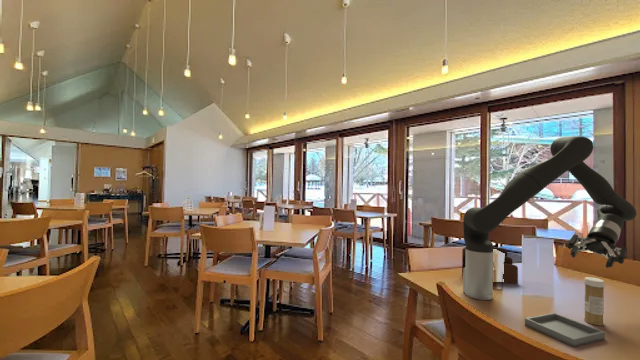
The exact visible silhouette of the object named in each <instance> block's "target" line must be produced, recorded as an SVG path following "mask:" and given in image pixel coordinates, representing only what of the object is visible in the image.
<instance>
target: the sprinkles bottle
mask: <svg viewBox="0 0 640 360" xmlns="http://www.w3.org/2000/svg"><path fill="white" fill-rule="evenodd" d="M584 287H585V288H584V318H583V319H584V321H585V322H586V323H588V324H591V325H595V326H604V314H605V312H604V310H605V308H604V306H605V305H604V303H605V300H604V298H605V297H604V292H605V291H604V289H605V280H603V279H602V278H597V277H591V276H586V277H584Z"/></svg>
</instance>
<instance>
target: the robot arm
mask: <svg viewBox="0 0 640 360" xmlns="http://www.w3.org/2000/svg"><path fill="white" fill-rule="evenodd" d="M549 149H550V154H551V155H552V157H550V158H548V159H545V160H544V161H542V162H539V163H537V164H535V165H532V166H530V167H528V168H525V169H523V170H522V171H521V172H520V173H518V174H517V175H515V176H514V177H513V178H511V180H510V181H509V182H507V184H506V185H505V186H504V188H503V189H502V191H501V193H500V194H499V196H498V197H496V198H495V199H494V200H492V201H491V202H489V203H488V204H487V205H485V206H483V207H478V206H476V207H475V206H474V207H470V208H468V209H467V210H466V211H465V213H464V216H463V224H462V225H463V227H462V228H463V241H464V245H465V247H466V260H465V267H464V268H463V275H462V293H463V294H465V295H466V296H467V297H469V298H471V299H475V300H481V301H489V300H492V299H493V297H494V296H493V293H494V292H493V291H494V289H493V288H494V287H493V286H494V285H493V284H494V283H493V247H494V244H493V243H492V241H491V239H490V236H489V233H491V232H493V231H494V230H496V229H497V228H498V227H499V225H500V224H502V223H503V221H505V220H506V219H507V218H508V217H509V216H510V215H511V214H512V213H514V212H516V210H518V209H520V207H521V206H523V205H524V204H526V202H528V201H529V200H530V201H531V199H533V198H534V197H535V196H536V195H538V194H539V193H541V191H543V190H544V189H545V188H547V186H549V185H550V184H552V183H553V182H554V181H556V180H557V179H558V178H560V176H562V175H564V174H565V173H566V172H568V173H570V175H572V176H573V178H575V180H577V182H578V183H579V184H580V185H581V186H582V188H583V189H584V190H585V191H586V193H588V195H589V197H590V198H591V199H592V201H593V202H594V203H595V204H597V205H599V206H598V207H597V209H596V214H597V220H596V221H595V223H594V224H593V225H592V226H591V228H590V230H589V231H588V233H587V235H586V237H583V238H582V237H579V235H577V234H573V235H572V237H571V238H570V239H569V241H568V243H567V249H568V250H570V256H571V257H572V258H573V259H574V258H576V256H577V254H578V253H579V252H587V251H588V252H592V253H596V254H599V255H603V256H604V257H605V258H606V259H607V260H606V264H605V268H606V269H610V268H612V267H613V266H614V264H615V263H616V262H617V263H619V264H624V261H625V258H626V256H627V250H628V248H627V247H625V246H622V247H616V244H617V242H618V241H619V238H620V236H621V232H622V229H623V227H624V224H625V223H624V222H627V221H632V220H634V219H635V218H636V216H637V211H636V208H635V207H634V205H633V204H632V203H631V202H629V201H628V200H627V199H625V198H624V197H622V196H621V195H619V194H618V193H617V192H616V191H615V189H614V188H613V186H612V185H611V184H610V183H609V181H608V180H607V179H606V178H605V177H604V176H602V174H600V173H599V172H597V171H596V170H594V169H593V168H592V167H590V166H589V165H587V164H586V163H585V162H584V161H585V160H586V159H588V158H589V157H591V154H592V153H593V151H594V143H593V141H592V140H591V139H590V138H588V137H585V136H578V135H577V136H563V137H558V138H556V139H554V140H553V141H552V142H551V144H550V148H549ZM615 252H616V253H617V255H616V254H615Z"/></svg>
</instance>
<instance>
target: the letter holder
mask: <svg viewBox="0 0 640 360" xmlns="http://www.w3.org/2000/svg"><path fill="white" fill-rule="evenodd" d="M493 249H497V250H499V251H501V252H503V253H505V262H504V274H503V279H504V283H503V284H515V285H518V284H519V268H518V266H517V265H515V264H513V258H512V257H509V256H508V250H507V249H506V248H503V247H497V246H493ZM461 250H462V252H461V253H462V255H461V257H462V259H461V260H462V264H461V275H462V276H463V268H464V267H465V260H466V246H465V247H464V246H463V248H462V249H461Z"/></svg>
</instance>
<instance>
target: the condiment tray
mask: <svg viewBox="0 0 640 360" xmlns="http://www.w3.org/2000/svg"><path fill="white" fill-rule="evenodd" d="M524 325H525V326H526V327H528V328H531V329H533V330H535V331H537V332H539V333H542V334H544V335H547V336H548V337H551V338H553V339H555V340H556V341H560V342H562V343H563V344H566V345H568V346H570V347H573V348H575V347H576V346H577V347H580V346H579V345H581V346H584V345H583V344H585V345H588V344H587V343H589V344H593V343H596V342H601V341H604V340H606V332H605V331H604V330H600V329H598V328H596V327H592V326H590V325H587V324H585V323H582V322H580V321H577V320H574V319H572V318H569V317H566V316H564V315H562V314H561V315H560V314H558V313H557V312H550V313H545V314H541V315H539V314H538V315H535V316H528V317H524Z"/></svg>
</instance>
